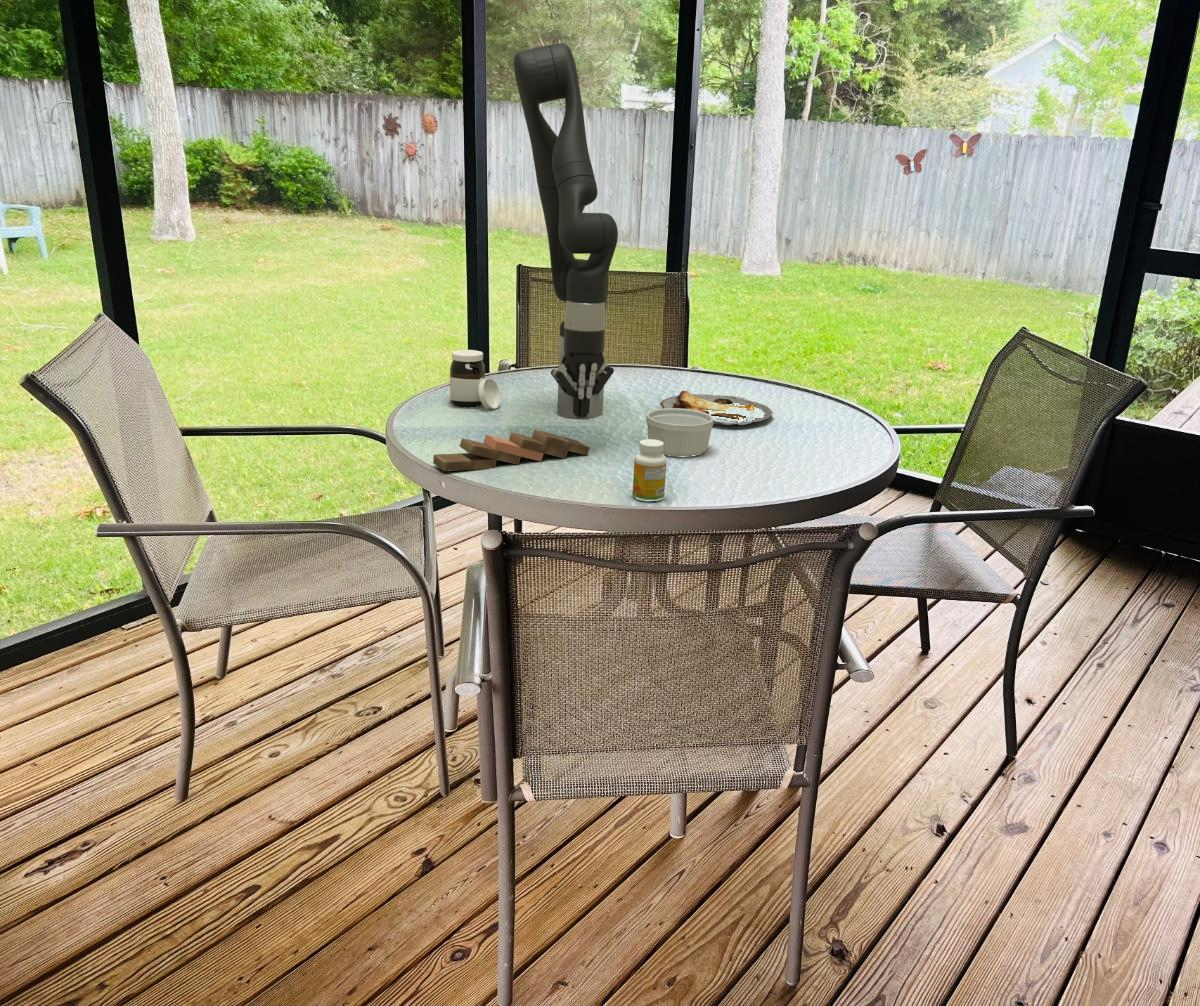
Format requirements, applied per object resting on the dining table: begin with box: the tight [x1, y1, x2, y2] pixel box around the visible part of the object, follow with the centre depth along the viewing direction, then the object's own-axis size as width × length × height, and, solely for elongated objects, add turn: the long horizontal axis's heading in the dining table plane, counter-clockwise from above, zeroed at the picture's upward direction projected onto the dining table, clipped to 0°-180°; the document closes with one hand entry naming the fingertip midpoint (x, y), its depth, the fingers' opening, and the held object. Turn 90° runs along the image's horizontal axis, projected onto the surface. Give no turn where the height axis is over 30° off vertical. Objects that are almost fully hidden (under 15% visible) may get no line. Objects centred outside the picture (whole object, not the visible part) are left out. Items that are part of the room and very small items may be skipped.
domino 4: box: [508, 431, 569, 459], centre depth 178 cm, size 2×5×10 cm
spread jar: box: [449, 349, 502, 411], centre depth 211 cm, size 12×11×12 cm
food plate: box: [659, 390, 774, 426], centre depth 214 cm, size 25×23×4 cm
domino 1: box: [432, 452, 497, 472], centre depth 171 cm, size 2×5×10 cm
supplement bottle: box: [631, 438, 668, 500], centre depth 159 cm, size 5×5×10 cm
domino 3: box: [482, 434, 545, 462], centre depth 175 cm, size 2×5×10 cm
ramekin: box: [645, 408, 714, 457], centre depth 187 cm, size 13×13×7 cm
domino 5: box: [531, 429, 591, 456], centre depth 180 cm, size 2×5×10 cm
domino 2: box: [459, 437, 522, 466], centre depth 173 cm, size 2×5×10 cm
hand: (581, 416), depth 181 cm, fingers closed
